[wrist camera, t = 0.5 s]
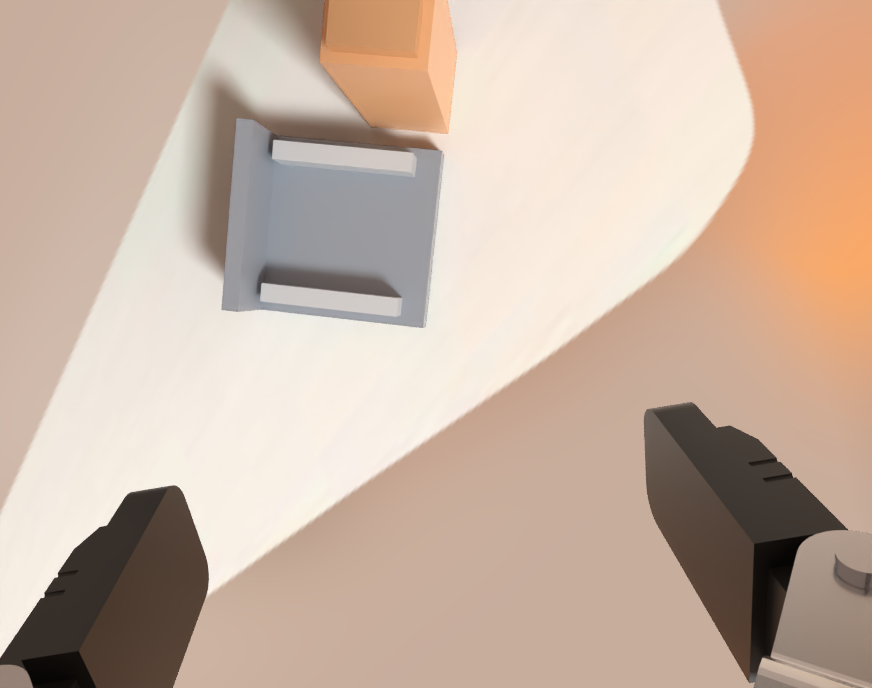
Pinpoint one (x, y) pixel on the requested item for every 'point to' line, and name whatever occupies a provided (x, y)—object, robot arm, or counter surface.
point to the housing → (331, 227)
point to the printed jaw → (392, 60)
